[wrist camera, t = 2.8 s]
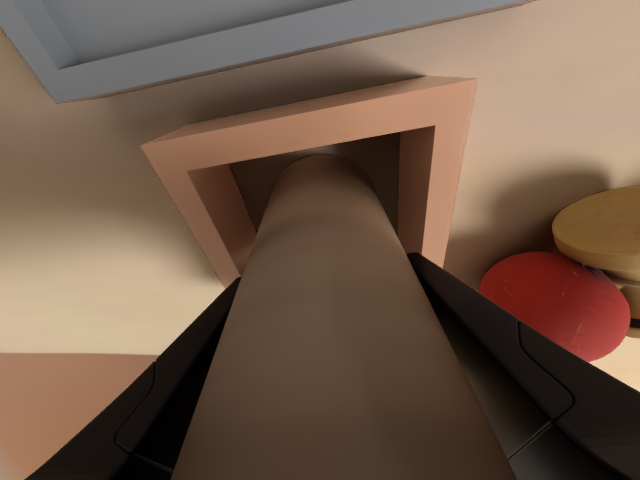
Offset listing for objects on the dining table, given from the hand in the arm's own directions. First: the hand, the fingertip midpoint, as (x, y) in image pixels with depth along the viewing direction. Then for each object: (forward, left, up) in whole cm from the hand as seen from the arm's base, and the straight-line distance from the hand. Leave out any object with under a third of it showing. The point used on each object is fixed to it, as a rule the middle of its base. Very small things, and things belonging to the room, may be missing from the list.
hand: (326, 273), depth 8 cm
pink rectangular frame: (0, 0, -5) cm, 5 cm away
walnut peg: (0, 0, -5) cm, 5 cm away
